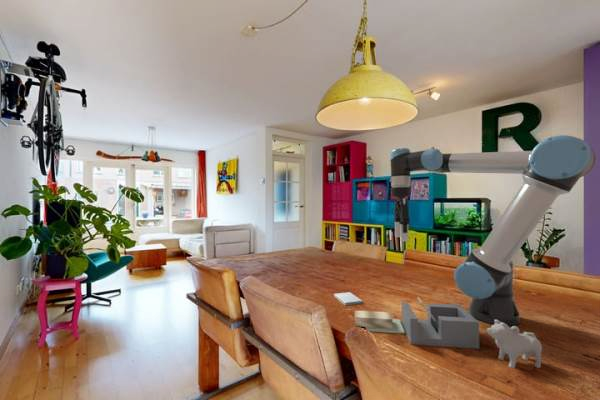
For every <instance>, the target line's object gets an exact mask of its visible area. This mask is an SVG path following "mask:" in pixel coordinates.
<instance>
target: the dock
mask: <svg viewBox="0 0 600 400" xmlns="http://www.w3.org/2000/svg"><path fill="white" fill-rule="evenodd" d="M427 309H428V310H429V311H430V313H431V314H432V315H433V317H434V318H435V319H436V321H437V322H438V325H437V324H436V323H435V321H434V320H433V319H432V317H431V316H430V315H429V313H428V312H427V319H423V318H421V319H420V318H418V317H417V316H416V314H415V312H414V311H413V309H412V307H411V306H410V304H409V302H405V301H401V325H402V327H403V329H404V332H405V334H406V337H407V339H408V341H409V345H417V346H418V345H419V346H431V347H432V346H433V347H447V348H461V349H462V348H463V349H473V350H474V349H475V350H480V321H479V320H478V319H476V318H474V317H473V316H471V315H470V314H469V311H467V310H466V308H464V307H463V306H462V305H461V304H450V303H449V304H448V303H433V302H432V303H429V302H427Z"/></svg>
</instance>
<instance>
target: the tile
mask: <svg viewBox="0 0 600 400" xmlns="http://www.w3.org/2000/svg"><path fill="white" fill-rule="evenodd" d="M393 319H394V318H393V317H392V314H391V312H390V311H372V310H370V311H369V310H356V309H355V310H354V326H355V327H363V328H365V327H376V328H392V329H393Z"/></svg>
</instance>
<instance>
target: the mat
mask: <svg viewBox="0 0 600 400" xmlns="http://www.w3.org/2000/svg"><path fill="white" fill-rule="evenodd" d="M392 319H393V329H392V328H376V327H364V328H365V330H366V329H367V330H369V331H371V332H372V333H384V334H385V333H387V334H399V335H403V334H404V335H405V334H406V332H405V330H404V328H403V325H402V321H401V320H400V319H398V318H392ZM371 332H370V333H371Z"/></svg>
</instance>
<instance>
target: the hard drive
mask: <svg viewBox="0 0 600 400" xmlns="http://www.w3.org/2000/svg"><path fill="white" fill-rule="evenodd" d="M333 297H334V298H335V299H337V300H338V301H339V302H340V303H342V304H343V306H351V305H352V306H353V305H362V304H364V300H362V299H360V297H357V296H356V295H355V294H354V293H352V292H349V291H348V292H339V293H333Z"/></svg>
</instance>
